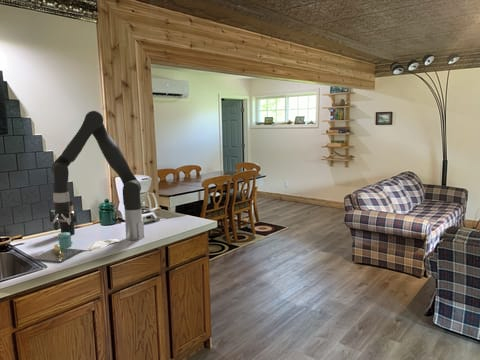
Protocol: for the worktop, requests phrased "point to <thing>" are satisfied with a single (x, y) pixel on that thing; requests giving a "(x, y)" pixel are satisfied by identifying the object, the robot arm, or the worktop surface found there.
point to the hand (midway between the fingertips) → (63, 230)
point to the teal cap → (65, 240)
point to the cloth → (101, 244)
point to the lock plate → (57, 254)
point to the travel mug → (65, 225)
